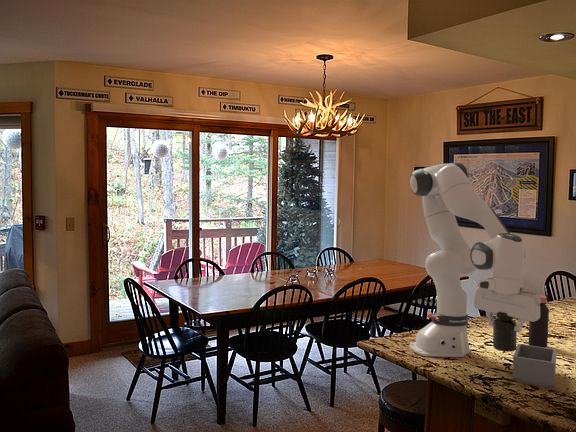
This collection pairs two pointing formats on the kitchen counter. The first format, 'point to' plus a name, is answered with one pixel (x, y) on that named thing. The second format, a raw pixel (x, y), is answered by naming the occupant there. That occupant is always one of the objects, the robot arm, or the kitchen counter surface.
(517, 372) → the walled bin
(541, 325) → the vinegar
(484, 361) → the kitchen counter surface
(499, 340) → the supplement bottle
